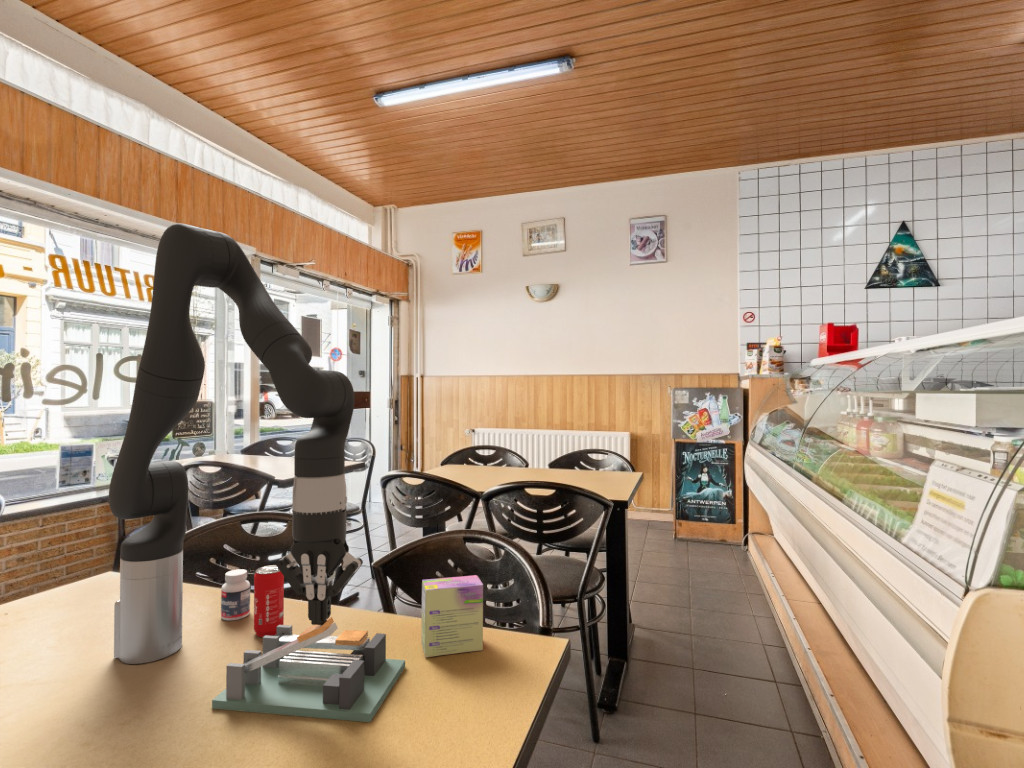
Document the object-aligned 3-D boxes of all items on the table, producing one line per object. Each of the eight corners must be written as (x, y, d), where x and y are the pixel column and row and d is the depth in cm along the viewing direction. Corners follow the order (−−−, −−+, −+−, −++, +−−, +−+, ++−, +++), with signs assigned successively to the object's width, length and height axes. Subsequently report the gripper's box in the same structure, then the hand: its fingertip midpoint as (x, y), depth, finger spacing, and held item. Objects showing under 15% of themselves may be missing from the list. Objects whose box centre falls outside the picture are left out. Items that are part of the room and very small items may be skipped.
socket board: (211, 708, 78) (212, 666, 78) (271, 657, 93) (271, 622, 93) (370, 722, 75) (370, 679, 75) (405, 667, 90) (405, 631, 90)
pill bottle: (214, 619, 108) (215, 575, 108) (233, 609, 113) (234, 567, 113) (237, 622, 107) (237, 577, 107) (255, 611, 112) (255, 569, 112)
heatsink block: (278, 683, 83) (278, 661, 83) (292, 669, 87) (292, 649, 87) (352, 689, 81) (352, 667, 81) (363, 675, 85) (363, 654, 85)
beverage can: (272, 639, 100) (272, 574, 100) (247, 636, 101) (248, 572, 101) (289, 627, 105) (289, 565, 105) (265, 625, 106) (266, 563, 106)
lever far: (268, 649, 88) (268, 637, 88) (280, 639, 92) (280, 627, 92) (362, 652, 86) (362, 640, 86) (371, 642, 90) (370, 630, 90)
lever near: (234, 679, 79) (229, 667, 79) (249, 667, 83) (244, 655, 83) (328, 638, 77) (323, 625, 77) (339, 627, 81) (334, 615, 81)
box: (476, 636, 101) (476, 573, 101) (483, 650, 96) (483, 584, 96) (420, 643, 98) (421, 579, 99) (424, 658, 93) (425, 590, 93)
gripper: (263, 509, 77) (262, 631, 77) (351, 511, 75) (351, 637, 75) (291, 498, 84) (291, 610, 84) (372, 500, 82) (372, 614, 82)
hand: (319, 622), depth 79 cm, fingers closed
